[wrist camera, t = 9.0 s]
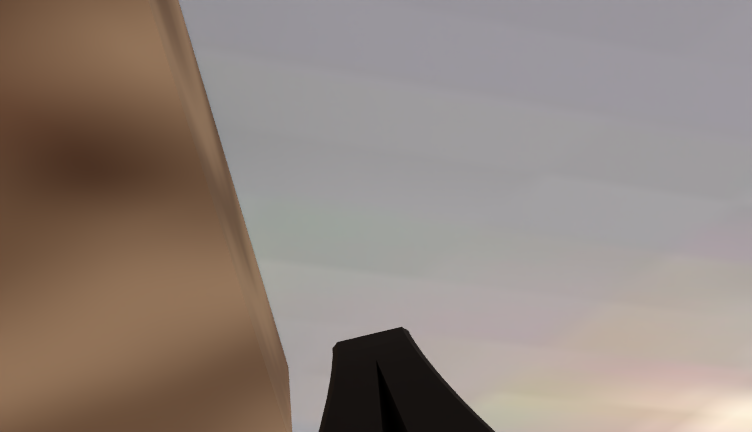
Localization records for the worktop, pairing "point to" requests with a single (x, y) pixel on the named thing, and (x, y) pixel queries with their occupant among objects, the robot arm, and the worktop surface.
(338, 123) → the worktop surface
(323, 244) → the worktop surface
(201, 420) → the butcher block
